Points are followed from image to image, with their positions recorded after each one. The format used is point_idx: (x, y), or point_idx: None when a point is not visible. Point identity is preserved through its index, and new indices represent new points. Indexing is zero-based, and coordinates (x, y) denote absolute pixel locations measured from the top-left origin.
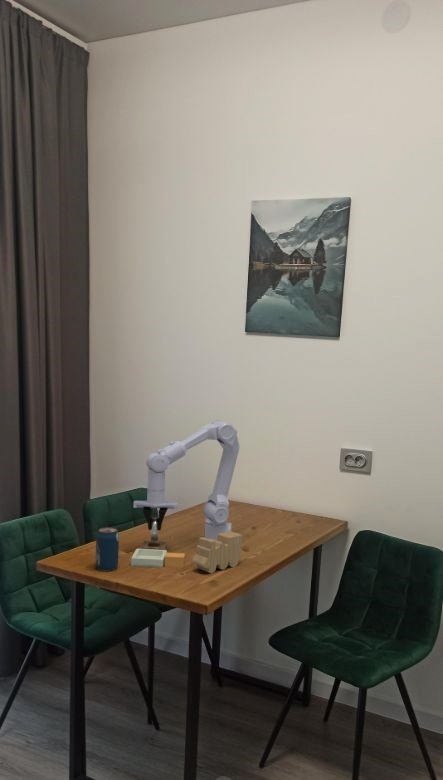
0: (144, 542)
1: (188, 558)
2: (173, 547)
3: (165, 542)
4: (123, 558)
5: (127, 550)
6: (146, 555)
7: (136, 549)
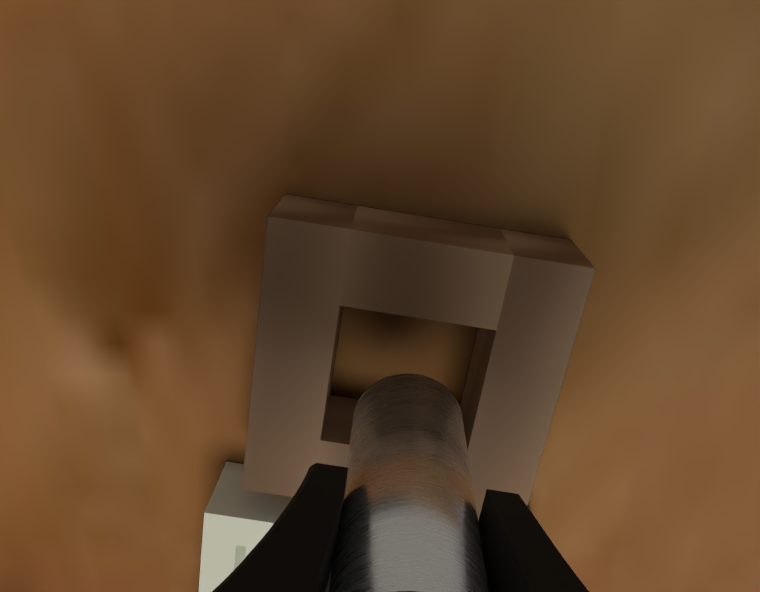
0: (279, 291)
1: (748, 525)
2: (666, 158)
3: (566, 288)
4: (112, 518)
5: (105, 283)
6: None
7: (206, 541)
